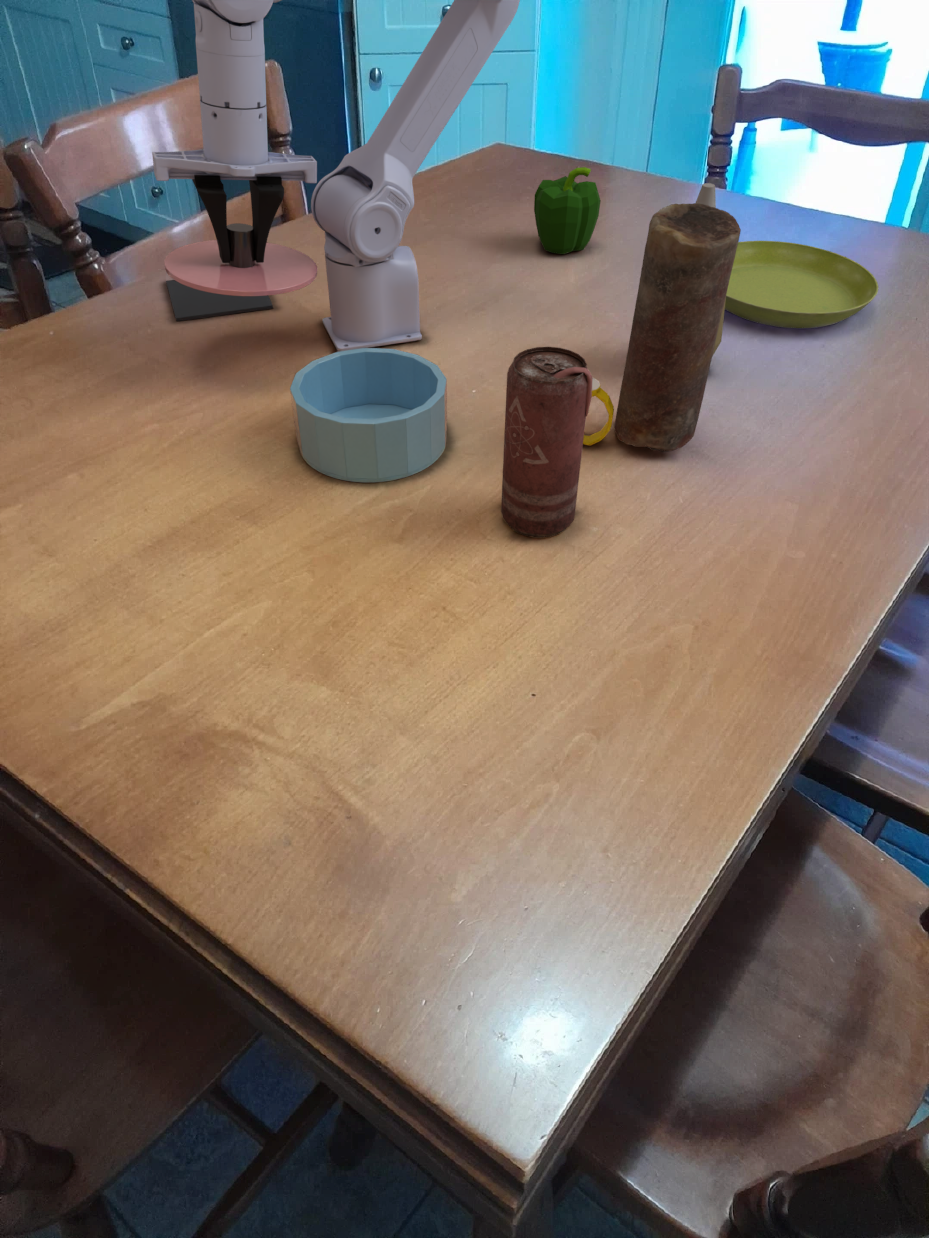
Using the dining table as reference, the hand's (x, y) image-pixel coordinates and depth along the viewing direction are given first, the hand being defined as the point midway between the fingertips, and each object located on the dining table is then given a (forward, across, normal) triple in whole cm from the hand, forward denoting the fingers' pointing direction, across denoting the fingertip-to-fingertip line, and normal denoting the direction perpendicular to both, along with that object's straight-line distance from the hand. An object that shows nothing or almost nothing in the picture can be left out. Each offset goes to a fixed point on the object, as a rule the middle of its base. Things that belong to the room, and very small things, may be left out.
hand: (241, 259), depth 88 cm
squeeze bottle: (+6, +42, -16) cm, 45 cm away
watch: (+8, +26, -26) cm, 38 cm away
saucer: (+4, +62, -5) cm, 62 cm away
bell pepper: (+5, +44, +18) cm, 48 cm away
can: (+10, +18, -36) cm, 41 cm away
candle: (+8, +33, -28) cm, 44 cm away
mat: (+10, 0, +18) cm, 20 cm away
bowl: (+10, +8, -19) cm, 23 cm away
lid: (+1, 0, 0) cm, 1 cm away
